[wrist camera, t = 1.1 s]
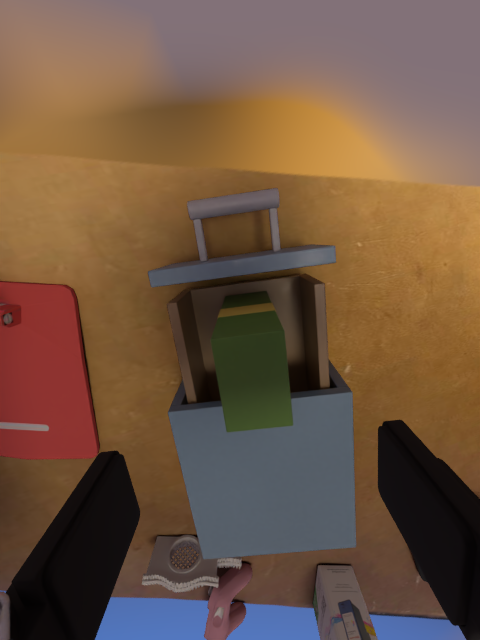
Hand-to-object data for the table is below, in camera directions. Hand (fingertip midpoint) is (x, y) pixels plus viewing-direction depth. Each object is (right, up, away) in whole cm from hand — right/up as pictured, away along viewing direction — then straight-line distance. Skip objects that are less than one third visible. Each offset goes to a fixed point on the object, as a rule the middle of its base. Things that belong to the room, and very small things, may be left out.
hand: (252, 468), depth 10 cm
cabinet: (+2, -7, +22) cm, 24 cm away
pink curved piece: (-2, -33, +30) cm, 45 cm away
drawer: (0, +7, +18) cm, 19 cm away
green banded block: (0, +5, +17) cm, 18 cm away
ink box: (+13, -33, +30) cm, 47 cm away
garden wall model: (-6, -25, +28) cm, 38 cm away
